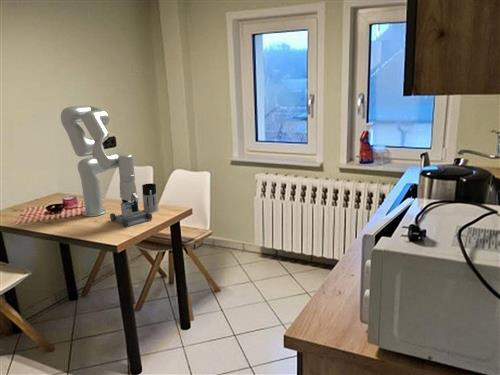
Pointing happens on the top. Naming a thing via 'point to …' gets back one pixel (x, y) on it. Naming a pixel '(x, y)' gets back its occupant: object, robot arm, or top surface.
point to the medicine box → (128, 210)
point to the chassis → (132, 219)
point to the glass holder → (150, 198)
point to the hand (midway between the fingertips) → (130, 209)
